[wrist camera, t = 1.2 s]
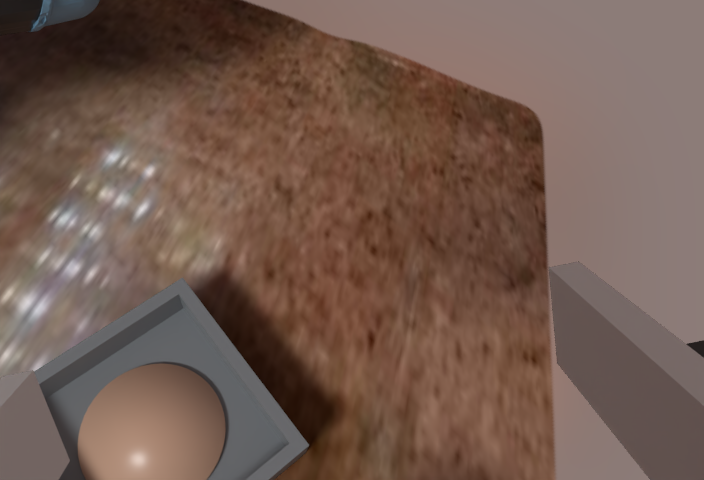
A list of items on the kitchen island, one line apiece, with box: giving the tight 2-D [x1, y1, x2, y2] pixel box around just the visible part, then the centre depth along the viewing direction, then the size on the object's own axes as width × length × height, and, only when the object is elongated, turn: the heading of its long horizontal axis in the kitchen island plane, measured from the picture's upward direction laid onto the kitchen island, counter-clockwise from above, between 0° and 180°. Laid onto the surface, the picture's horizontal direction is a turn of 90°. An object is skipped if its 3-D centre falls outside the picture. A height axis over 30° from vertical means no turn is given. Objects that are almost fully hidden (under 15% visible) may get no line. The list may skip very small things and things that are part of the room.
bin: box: [34, 278, 309, 480], centre depth 34 cm, size 13×13×4 cm
